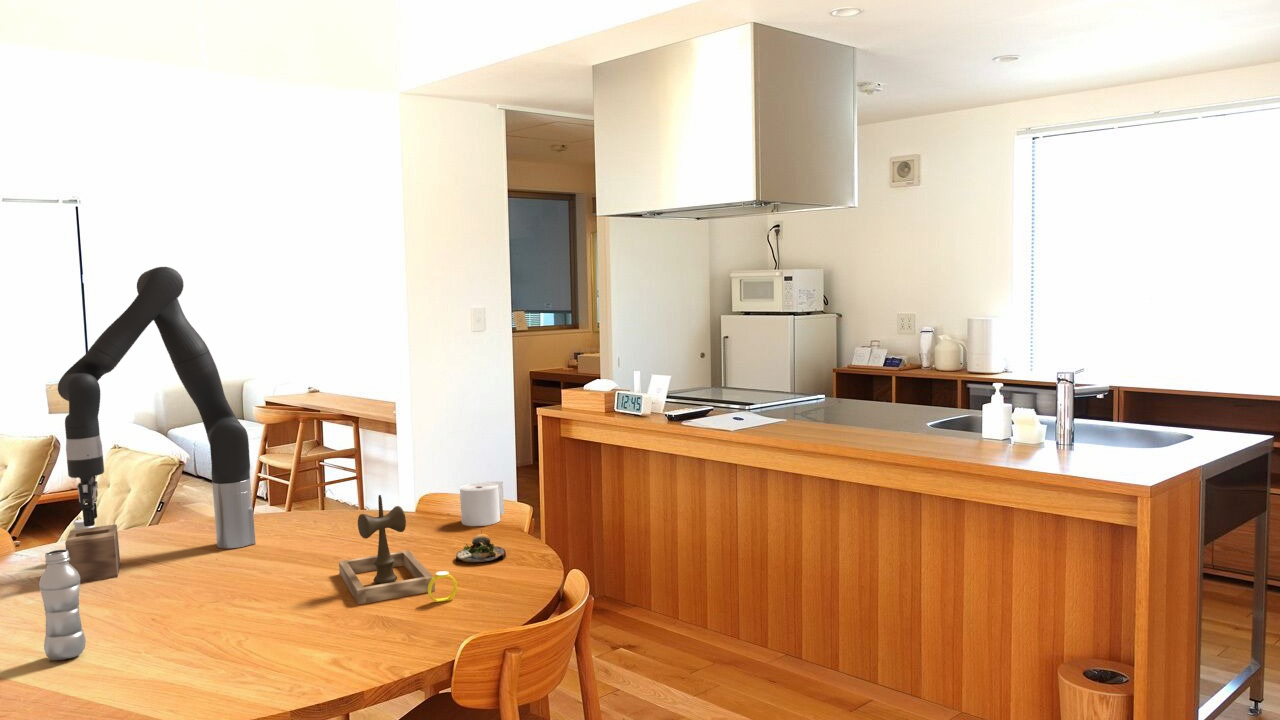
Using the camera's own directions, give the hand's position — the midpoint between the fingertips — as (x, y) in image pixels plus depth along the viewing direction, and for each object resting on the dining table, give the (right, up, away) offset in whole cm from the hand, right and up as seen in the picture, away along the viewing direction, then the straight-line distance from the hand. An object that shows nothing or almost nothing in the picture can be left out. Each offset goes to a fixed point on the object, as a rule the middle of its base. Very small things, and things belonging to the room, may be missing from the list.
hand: (90, 522), depth 232 cm
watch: (+91, -12, -30) cm, 96 cm away
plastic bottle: (+26, -16, -53) cm, 61 cm away
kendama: (+75, -11, -15) cm, 77 cm away
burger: (+94, -9, +1) cm, 94 cm away
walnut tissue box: (+1, -13, +1) cm, 13 cm away
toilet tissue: (+88, -6, +37) cm, 96 cm away
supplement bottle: (-9, -12, +14) cm, 21 cm away
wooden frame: (+75, -11, -15) cm, 77 cm away
